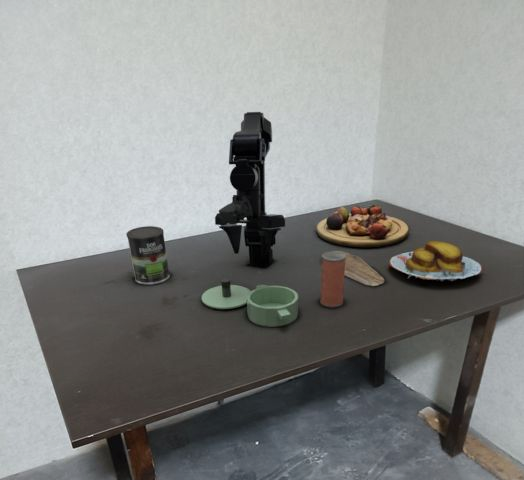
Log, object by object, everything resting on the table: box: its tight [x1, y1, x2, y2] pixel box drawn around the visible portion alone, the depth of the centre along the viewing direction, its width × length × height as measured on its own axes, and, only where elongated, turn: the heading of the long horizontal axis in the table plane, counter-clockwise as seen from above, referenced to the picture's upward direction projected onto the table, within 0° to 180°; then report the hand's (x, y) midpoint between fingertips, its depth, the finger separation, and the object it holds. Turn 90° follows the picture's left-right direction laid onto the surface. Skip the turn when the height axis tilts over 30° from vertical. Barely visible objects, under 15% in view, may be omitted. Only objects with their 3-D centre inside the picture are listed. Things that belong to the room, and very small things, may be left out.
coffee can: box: [126, 225, 171, 286], centre depth 140 cm, size 10×10×14 cm
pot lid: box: [201, 277, 252, 310], centre depth 129 cm, size 14×14×6 cm
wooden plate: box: [316, 204, 410, 248], centre depth 169 cm, size 32×32×8 cm
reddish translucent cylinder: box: [319, 250, 346, 309], centre depth 123 cm, size 6×6×13 cm
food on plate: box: [388, 240, 483, 282], centre depth 139 cm, size 25×25×7 cm
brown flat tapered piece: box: [336, 250, 385, 287], centre depth 144 cm, size 26×10×1 cm, turn 31°
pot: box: [246, 283, 299, 328], centre depth 121 cm, size 13×18×5 cm
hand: (249, 255), depth 122 cm, fingers open, 9 cm apart
